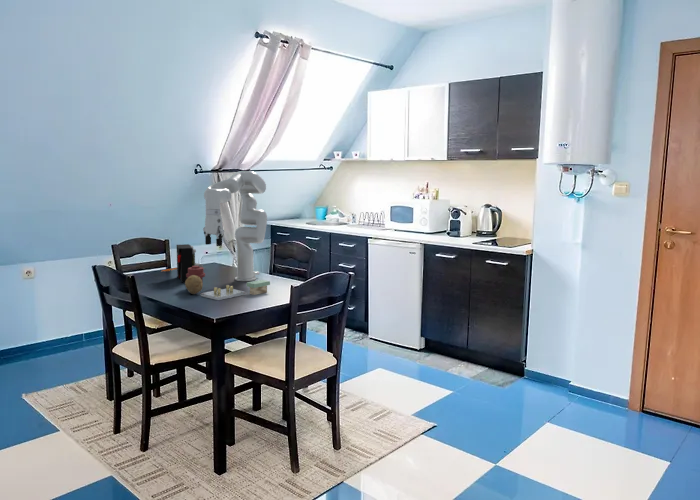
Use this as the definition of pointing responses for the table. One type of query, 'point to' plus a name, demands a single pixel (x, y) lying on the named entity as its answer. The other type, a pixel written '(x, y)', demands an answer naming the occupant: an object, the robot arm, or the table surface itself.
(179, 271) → the electrical component
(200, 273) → the mechanical component
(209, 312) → the table surface
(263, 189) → the robot arm
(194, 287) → the natural sponge
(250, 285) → the board
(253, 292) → the oak block
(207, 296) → the plate
